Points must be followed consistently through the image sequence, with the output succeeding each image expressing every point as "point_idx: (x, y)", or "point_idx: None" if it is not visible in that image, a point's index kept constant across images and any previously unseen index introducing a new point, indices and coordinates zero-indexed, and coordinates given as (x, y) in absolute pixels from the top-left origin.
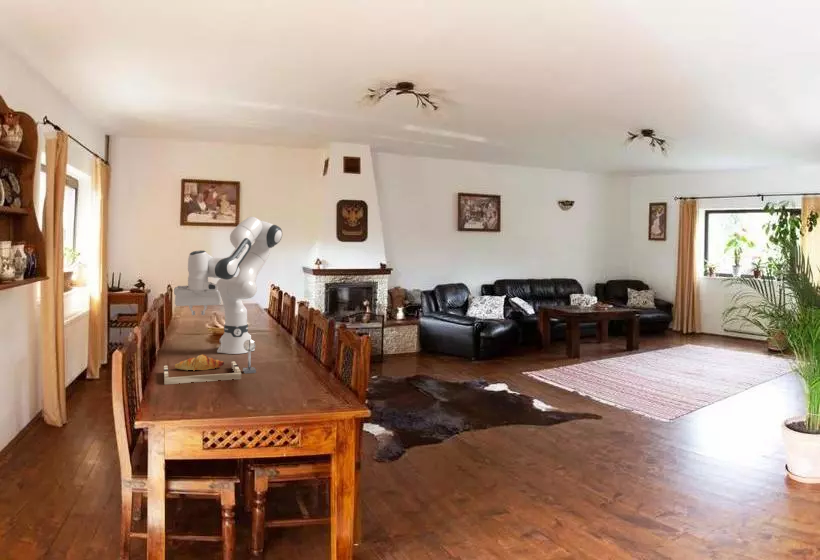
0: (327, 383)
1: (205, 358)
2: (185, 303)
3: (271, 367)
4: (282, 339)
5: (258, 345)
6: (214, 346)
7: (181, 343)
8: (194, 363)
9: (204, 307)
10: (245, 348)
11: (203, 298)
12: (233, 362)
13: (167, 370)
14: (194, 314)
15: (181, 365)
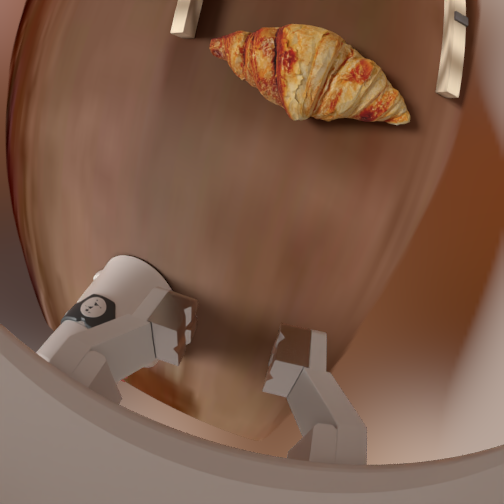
0: None
1: (293, 30)
2: (447, 493)
3: (91, 27)
4: None
5: None
6: (187, 370)
7: (253, 418)
8: (345, 44)
9: (101, 355)
10: None
11: (15, 494)
12: (181, 16)
13: (456, 12)
14: (290, 328)
15: (391, 86)
